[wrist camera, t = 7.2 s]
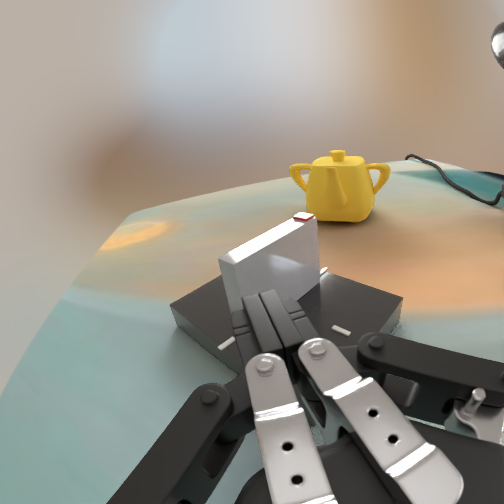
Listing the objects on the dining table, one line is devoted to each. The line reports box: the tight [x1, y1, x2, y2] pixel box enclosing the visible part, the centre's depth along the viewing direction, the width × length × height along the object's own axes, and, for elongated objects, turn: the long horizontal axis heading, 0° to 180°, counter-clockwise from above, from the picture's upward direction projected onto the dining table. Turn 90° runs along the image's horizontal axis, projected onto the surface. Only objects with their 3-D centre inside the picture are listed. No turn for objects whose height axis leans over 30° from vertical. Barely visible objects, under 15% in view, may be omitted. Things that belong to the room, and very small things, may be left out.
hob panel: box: [170, 267, 403, 427], centre depth 23 cm, size 16×13×3 cm
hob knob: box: [218, 212, 320, 315], centre depth 21 cm, size 8×2×6 cm, turn 133°
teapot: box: [289, 150, 391, 223], centre depth 42 cm, size 14×13×10 cm
